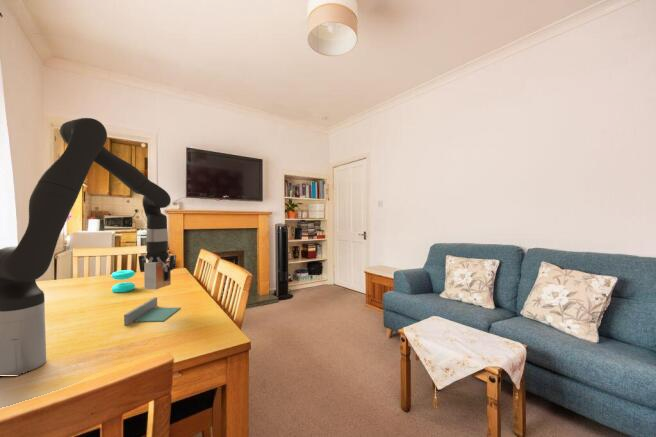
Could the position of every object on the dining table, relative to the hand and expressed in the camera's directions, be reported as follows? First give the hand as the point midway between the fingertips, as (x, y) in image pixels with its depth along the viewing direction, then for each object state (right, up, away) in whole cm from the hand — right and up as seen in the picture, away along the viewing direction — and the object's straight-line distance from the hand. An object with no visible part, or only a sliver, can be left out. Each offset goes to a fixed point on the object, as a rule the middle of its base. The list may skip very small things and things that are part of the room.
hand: (157, 280), depth 114 cm
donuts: (-39, -13, +33) cm, 53 cm away
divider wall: (-7, -14, 0) cm, 16 cm away
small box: (0, -3, 0) cm, 3 cm away
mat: (0, -14, +1) cm, 14 cm away
